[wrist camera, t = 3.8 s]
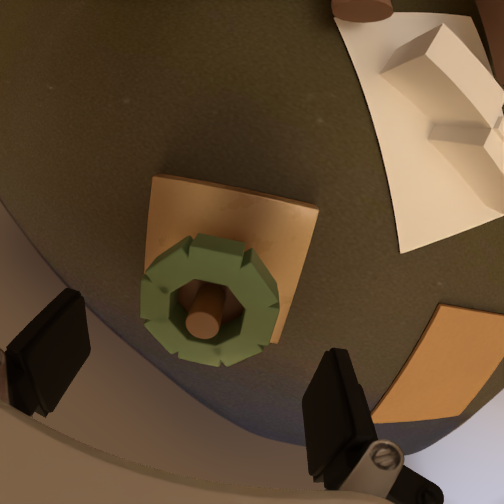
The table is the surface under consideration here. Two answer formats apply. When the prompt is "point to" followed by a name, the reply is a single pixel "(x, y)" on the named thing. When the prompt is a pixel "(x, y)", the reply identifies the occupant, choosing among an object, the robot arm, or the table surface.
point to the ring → (220, 272)
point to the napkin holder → (432, 120)
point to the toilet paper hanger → (379, 8)
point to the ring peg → (234, 228)
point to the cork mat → (445, 366)
